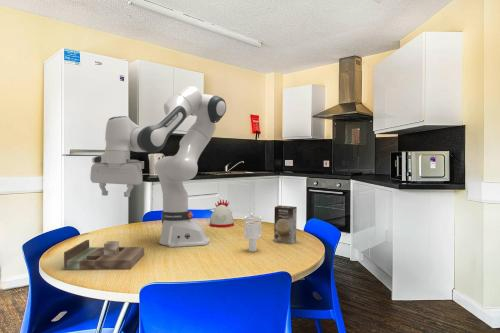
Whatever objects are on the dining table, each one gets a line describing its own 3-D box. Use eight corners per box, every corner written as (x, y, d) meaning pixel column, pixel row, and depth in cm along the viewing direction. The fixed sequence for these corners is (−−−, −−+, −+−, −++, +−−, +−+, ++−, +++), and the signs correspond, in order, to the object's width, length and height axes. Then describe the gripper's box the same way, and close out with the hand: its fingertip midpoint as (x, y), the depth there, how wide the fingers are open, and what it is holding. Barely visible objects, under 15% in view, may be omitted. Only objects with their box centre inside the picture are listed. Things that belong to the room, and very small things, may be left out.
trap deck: (144, 254, 133) (144, 239, 133) (130, 269, 115) (130, 251, 115) (86, 255, 132) (86, 239, 132) (64, 270, 114) (64, 252, 114)
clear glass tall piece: (259, 248, 144) (259, 212, 144) (262, 252, 137) (262, 215, 137) (242, 248, 143) (243, 213, 142) (245, 253, 136) (245, 215, 136)
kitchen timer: (233, 227, 188) (233, 200, 188) (208, 227, 188) (208, 200, 188) (234, 223, 202) (234, 198, 202) (211, 223, 202) (211, 197, 202)
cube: (118, 251, 126) (118, 241, 126) (115, 254, 122) (115, 243, 122) (107, 252, 126) (107, 241, 126) (103, 254, 122) (103, 243, 122)
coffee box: (273, 242, 155) (273, 206, 154) (278, 239, 161) (278, 205, 160) (292, 244, 151) (292, 208, 151) (296, 241, 157) (297, 206, 156)
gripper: (146, 160, 127) (145, 197, 127) (99, 158, 132) (98, 194, 132) (137, 159, 121) (135, 198, 121) (88, 158, 126) (86, 195, 126)
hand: (115, 196), depth 127 cm, fingers open, 8 cm apart
